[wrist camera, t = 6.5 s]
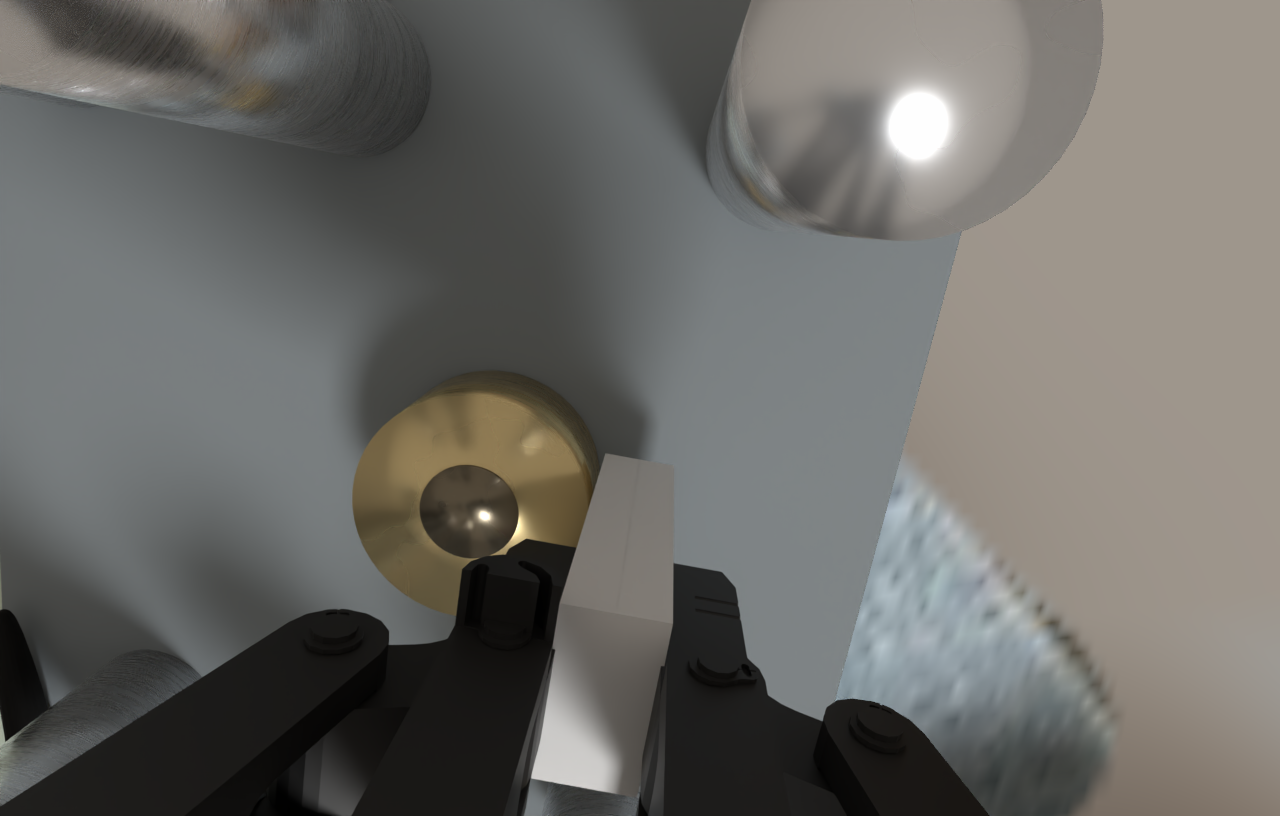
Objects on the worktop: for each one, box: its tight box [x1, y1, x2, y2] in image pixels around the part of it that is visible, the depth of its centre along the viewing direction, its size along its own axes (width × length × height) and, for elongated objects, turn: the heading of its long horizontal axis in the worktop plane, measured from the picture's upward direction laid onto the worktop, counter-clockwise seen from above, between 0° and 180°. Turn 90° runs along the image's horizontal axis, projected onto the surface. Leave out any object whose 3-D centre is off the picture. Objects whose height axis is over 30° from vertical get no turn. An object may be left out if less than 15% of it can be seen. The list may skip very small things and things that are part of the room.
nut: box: [352, 370, 599, 616], centre depth 16 cm, size 5×5×2 cm
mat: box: [0, 0, 962, 816], centre depth 18 cm, size 28×22×1 cm
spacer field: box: [0, 0, 1103, 816], centre depth 13 cm, size 18×19×9 cm
